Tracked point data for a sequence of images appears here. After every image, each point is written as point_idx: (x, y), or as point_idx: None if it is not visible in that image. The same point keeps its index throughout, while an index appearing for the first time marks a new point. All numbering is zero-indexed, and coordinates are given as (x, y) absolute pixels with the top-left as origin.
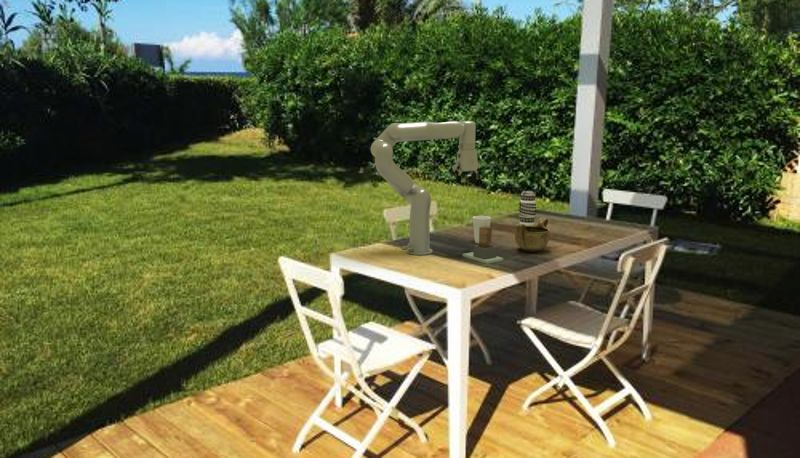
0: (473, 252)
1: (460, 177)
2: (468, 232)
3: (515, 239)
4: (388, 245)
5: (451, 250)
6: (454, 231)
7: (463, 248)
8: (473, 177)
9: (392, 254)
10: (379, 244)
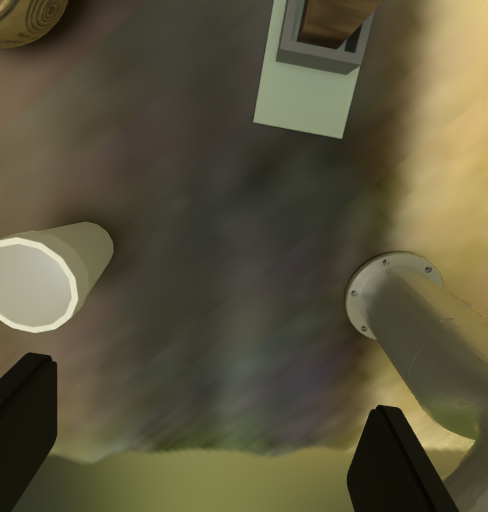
0: (351, 70)
1: (458, 510)
2: None
3: (55, 17)
4: None
5: (287, 235)
6: None
7: (227, 224)
8: (7, 463)
9: None
10: None
